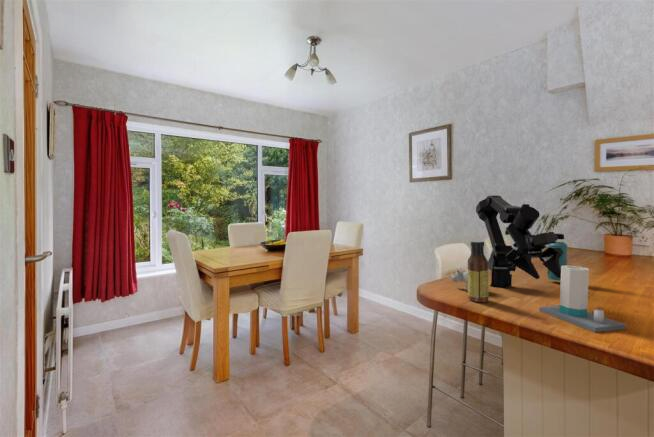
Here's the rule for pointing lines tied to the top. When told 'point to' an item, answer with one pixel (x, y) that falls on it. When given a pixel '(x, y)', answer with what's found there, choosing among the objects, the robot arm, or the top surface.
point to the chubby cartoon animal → (460, 277)
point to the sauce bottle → (478, 273)
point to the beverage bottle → (562, 259)
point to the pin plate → (586, 319)
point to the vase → (574, 290)
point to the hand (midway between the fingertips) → (549, 278)
